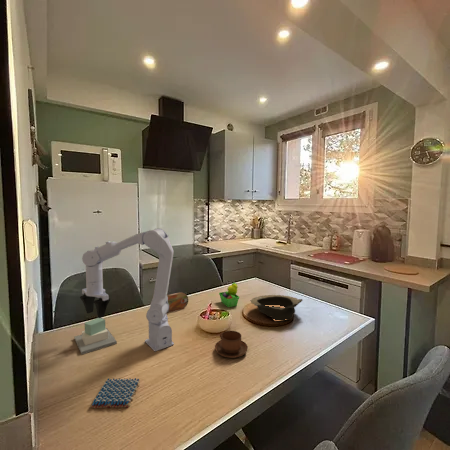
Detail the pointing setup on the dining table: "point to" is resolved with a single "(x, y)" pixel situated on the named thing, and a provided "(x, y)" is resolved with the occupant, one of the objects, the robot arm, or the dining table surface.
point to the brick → (94, 326)
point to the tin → (177, 301)
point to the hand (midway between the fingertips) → (95, 314)
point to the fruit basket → (230, 296)
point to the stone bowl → (273, 311)
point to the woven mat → (116, 393)
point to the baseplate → (95, 345)
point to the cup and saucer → (231, 345)
